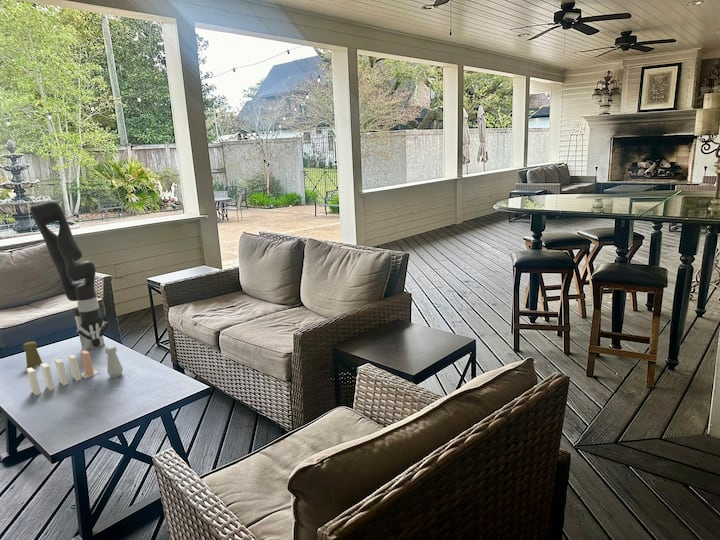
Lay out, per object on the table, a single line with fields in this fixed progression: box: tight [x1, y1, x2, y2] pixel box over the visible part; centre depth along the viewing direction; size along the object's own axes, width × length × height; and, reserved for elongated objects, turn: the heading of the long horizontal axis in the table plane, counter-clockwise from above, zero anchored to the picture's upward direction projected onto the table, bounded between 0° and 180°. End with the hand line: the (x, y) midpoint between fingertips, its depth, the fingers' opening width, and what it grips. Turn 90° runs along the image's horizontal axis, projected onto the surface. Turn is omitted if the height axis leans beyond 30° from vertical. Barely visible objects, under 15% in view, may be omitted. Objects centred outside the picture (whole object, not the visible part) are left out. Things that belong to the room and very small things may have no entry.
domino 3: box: [54, 358, 69, 386], centre depth 204 cm, size 2×5×10 cm, turn 47°
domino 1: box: [26, 367, 42, 396], centre depth 197 cm, size 2×5×10 cm, turn 47°
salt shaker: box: [104, 345, 124, 379], centre depth 207 cm, size 6×6×13 cm
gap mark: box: [80, 368, 100, 379], centre depth 212 cm, size 6×6×1 cm
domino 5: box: [80, 349, 94, 377], centre depth 211 cm, size 2×5×10 cm, turn 47°
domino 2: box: [40, 362, 56, 391], centre depth 201 cm, size 2×5×10 cm, turn 46°
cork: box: [22, 341, 43, 369], centre depth 225 cm, size 6×6×11 cm
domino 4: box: [67, 354, 82, 382], centre depth 208 cm, size 2×5×10 cm, turn 46°
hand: (96, 346), depth 213 cm, fingers closed
